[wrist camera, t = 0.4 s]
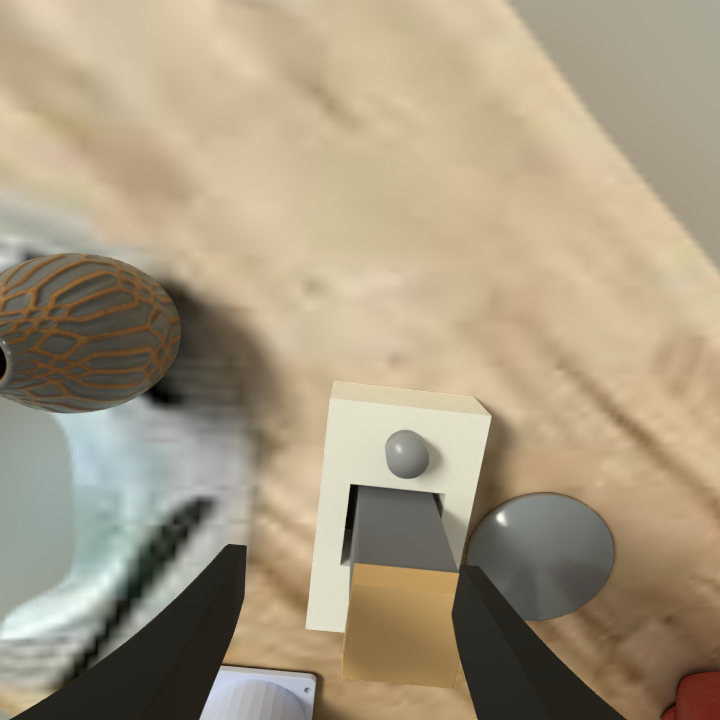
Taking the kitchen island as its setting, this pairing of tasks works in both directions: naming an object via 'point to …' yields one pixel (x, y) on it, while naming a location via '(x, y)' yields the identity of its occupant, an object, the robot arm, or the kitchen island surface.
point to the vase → (83, 333)
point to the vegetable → (697, 698)
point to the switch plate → (391, 473)
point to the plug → (400, 591)
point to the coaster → (543, 553)
